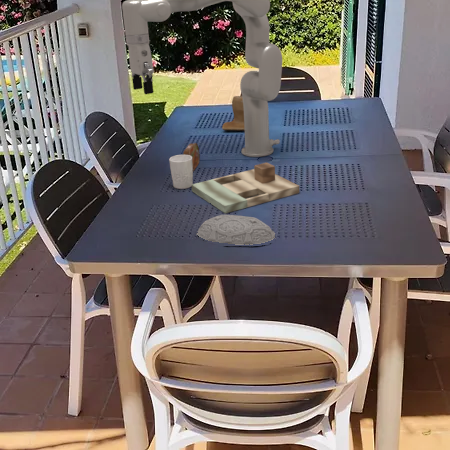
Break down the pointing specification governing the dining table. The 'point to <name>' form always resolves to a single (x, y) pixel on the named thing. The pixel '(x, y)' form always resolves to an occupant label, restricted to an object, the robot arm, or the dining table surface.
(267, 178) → the walnut block
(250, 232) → the embossed grey dome
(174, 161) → the white cup
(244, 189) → the board
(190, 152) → the tin
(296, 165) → the dining table surface
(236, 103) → the brown l-shaped block
